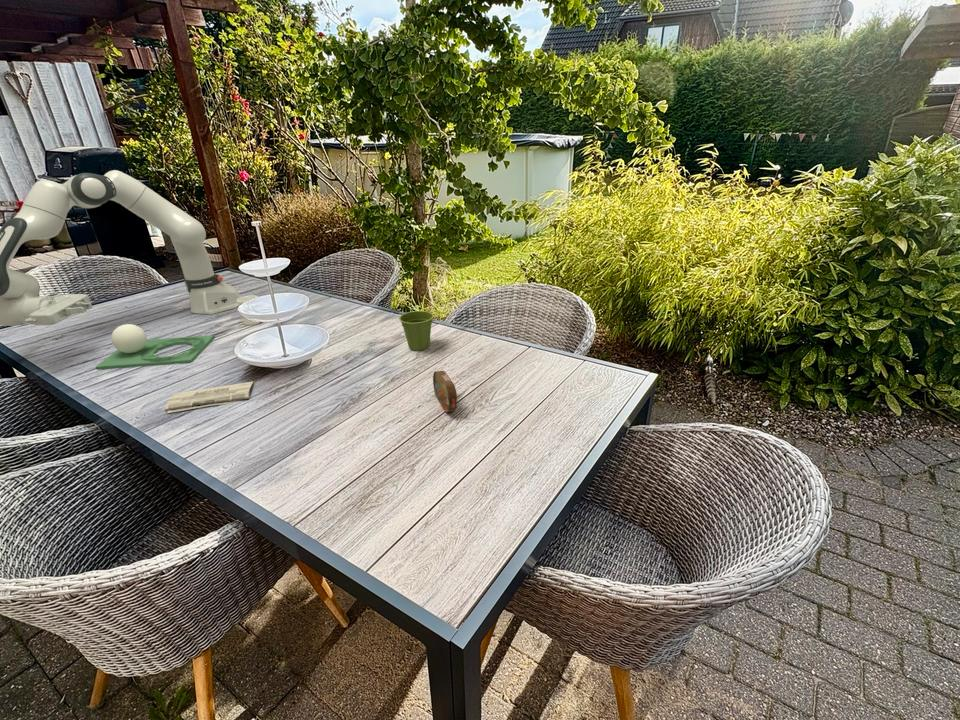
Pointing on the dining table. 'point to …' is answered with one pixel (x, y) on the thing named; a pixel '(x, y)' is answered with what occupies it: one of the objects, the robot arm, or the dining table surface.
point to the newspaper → (208, 397)
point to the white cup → (243, 300)
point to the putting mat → (152, 347)
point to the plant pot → (417, 328)
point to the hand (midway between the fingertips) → (87, 307)
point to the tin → (445, 391)
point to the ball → (128, 338)
